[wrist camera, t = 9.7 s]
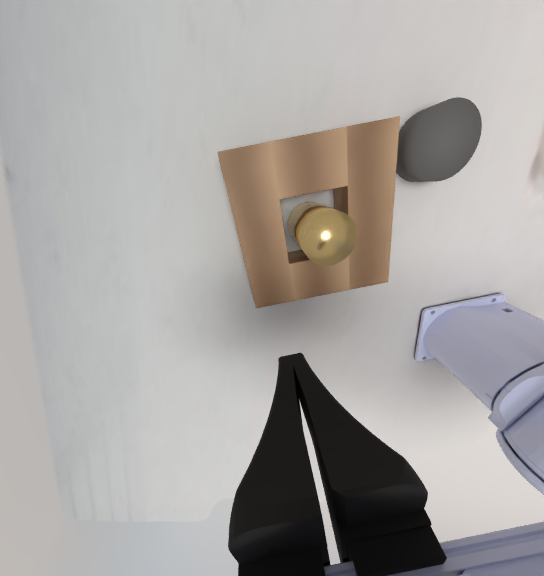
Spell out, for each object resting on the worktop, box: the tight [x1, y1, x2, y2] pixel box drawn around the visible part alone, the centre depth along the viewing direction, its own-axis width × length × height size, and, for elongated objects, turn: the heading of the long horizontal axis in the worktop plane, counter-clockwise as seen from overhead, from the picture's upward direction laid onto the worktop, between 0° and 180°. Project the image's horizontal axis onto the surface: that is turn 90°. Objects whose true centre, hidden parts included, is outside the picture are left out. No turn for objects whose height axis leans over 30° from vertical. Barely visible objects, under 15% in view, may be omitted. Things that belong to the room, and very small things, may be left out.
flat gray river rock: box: [396, 98, 482, 182], centre depth 17 cm, size 5×5×2 cm
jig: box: [218, 116, 400, 308], centre depth 18 cm, size 12×12×3 cm
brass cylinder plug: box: [288, 202, 357, 266], centre depth 17 cm, size 4×4×6 cm
